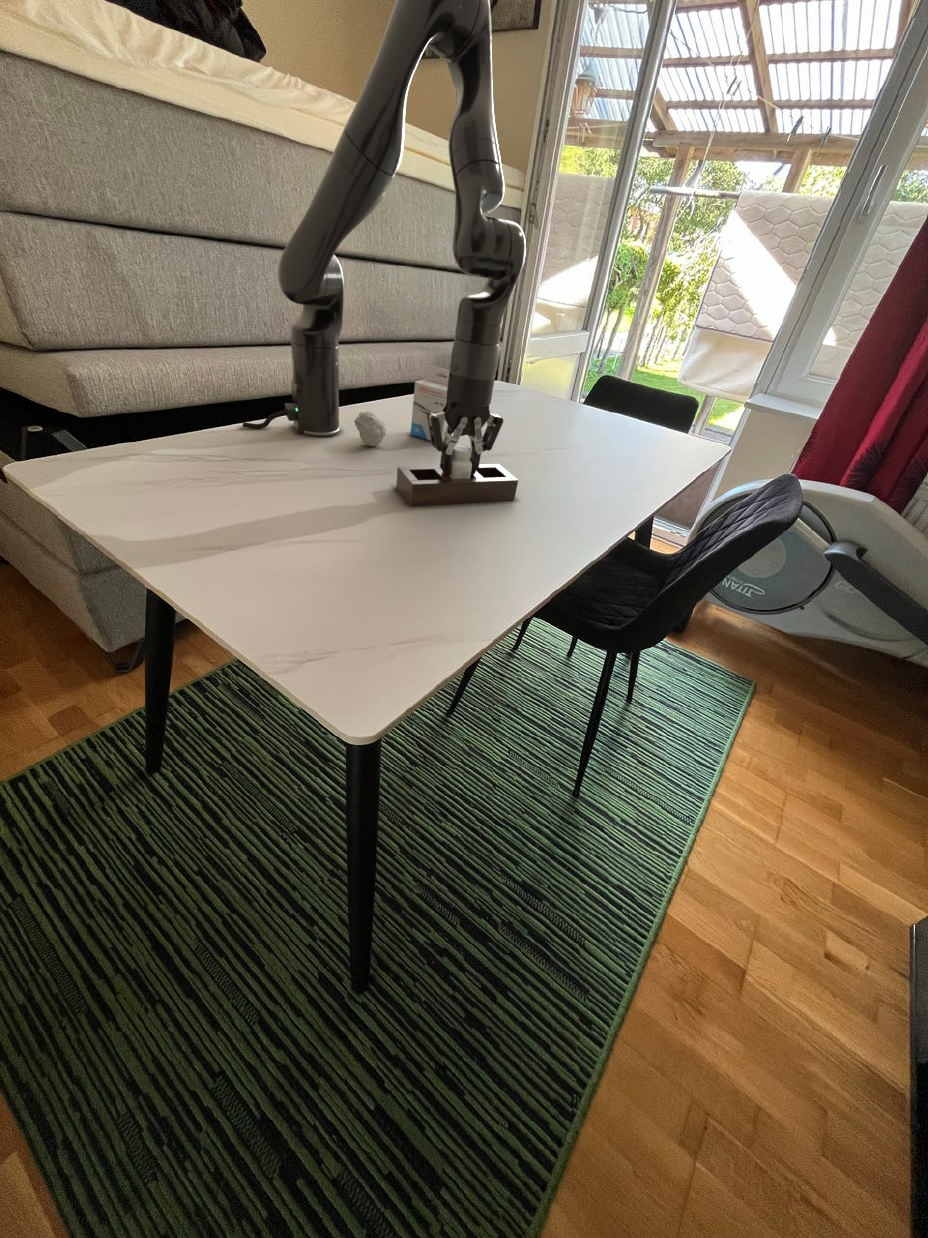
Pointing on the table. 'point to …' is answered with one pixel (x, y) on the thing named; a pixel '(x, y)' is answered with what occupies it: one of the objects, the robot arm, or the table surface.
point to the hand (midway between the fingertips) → (458, 472)
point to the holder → (455, 485)
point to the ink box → (429, 401)
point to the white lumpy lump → (370, 428)
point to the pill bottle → (461, 463)
